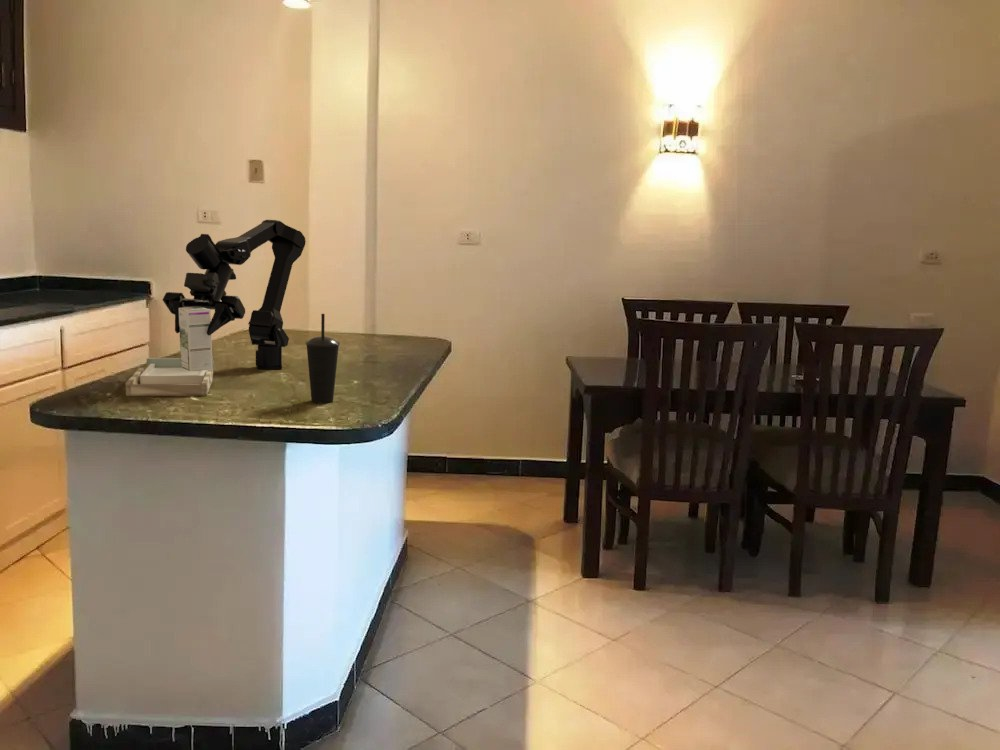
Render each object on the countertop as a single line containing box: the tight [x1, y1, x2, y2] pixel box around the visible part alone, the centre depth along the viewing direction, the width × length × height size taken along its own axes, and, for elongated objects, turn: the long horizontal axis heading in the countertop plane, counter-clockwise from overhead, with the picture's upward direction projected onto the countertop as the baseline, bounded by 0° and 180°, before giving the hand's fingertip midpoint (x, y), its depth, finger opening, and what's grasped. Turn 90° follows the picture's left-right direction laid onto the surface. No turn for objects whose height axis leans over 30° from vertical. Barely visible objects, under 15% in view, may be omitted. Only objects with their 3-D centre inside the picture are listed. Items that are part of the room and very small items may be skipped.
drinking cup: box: [305, 313, 341, 404], centre depth 186 cm, size 8×8×20 cm
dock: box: [125, 367, 214, 397], centre depth 194 cm, size 19×17×3 cm
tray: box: [140, 357, 215, 384], centre depth 203 cm, size 18×16×3 cm
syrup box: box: [179, 307, 213, 371], centre depth 194 cm, size 6×6×14 cm
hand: (192, 333), depth 192 cm, fingers closed on syrup box, 8 cm apart
